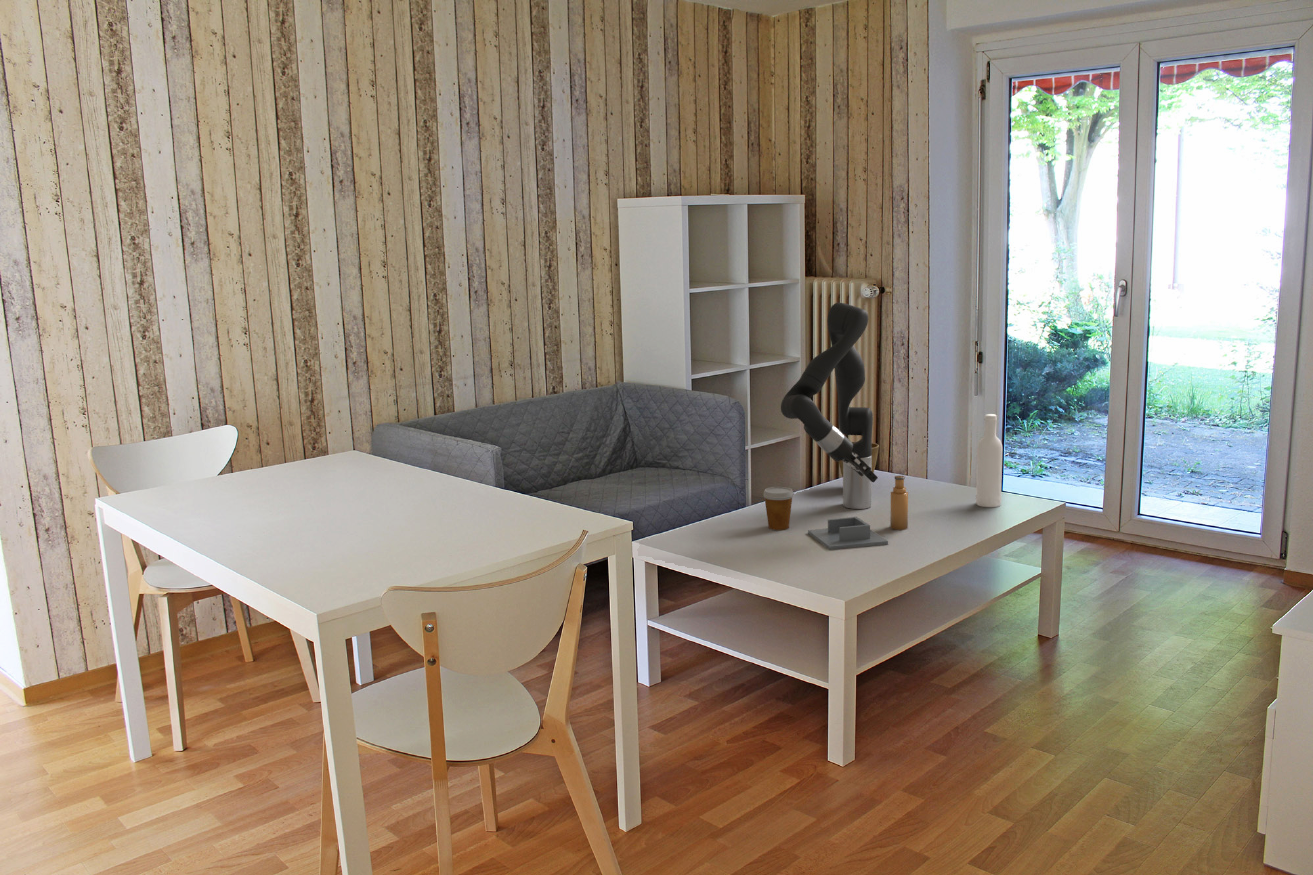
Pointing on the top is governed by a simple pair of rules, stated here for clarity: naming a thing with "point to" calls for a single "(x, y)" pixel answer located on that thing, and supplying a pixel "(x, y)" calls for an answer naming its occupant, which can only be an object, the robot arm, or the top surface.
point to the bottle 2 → (989, 466)
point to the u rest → (847, 534)
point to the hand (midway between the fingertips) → (869, 477)
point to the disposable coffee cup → (778, 507)
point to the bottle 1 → (899, 505)
